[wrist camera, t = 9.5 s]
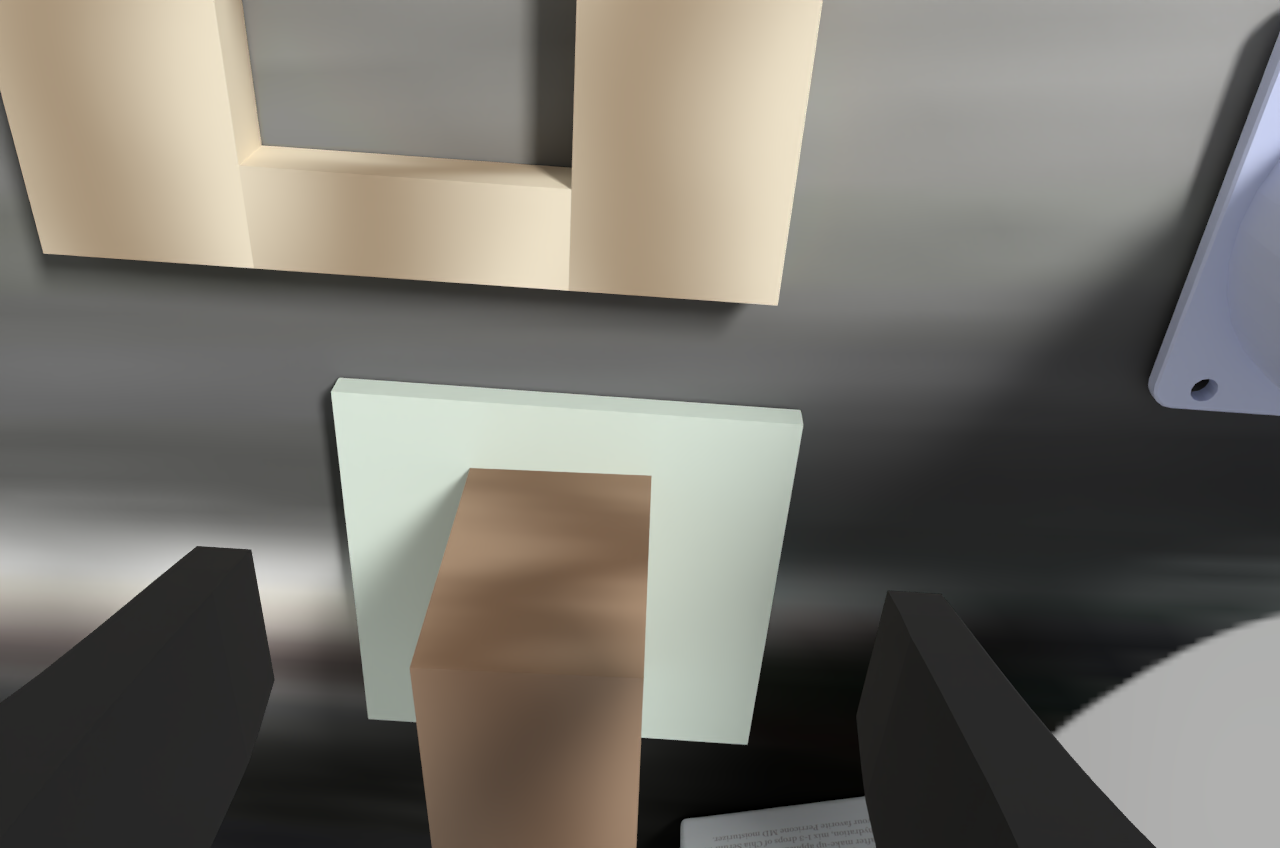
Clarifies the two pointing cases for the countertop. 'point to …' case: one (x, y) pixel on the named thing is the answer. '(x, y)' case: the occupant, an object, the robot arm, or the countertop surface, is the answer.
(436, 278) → the pocket plate
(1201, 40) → the countertop surface
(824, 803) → the skincare box
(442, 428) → the sage tile
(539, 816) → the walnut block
